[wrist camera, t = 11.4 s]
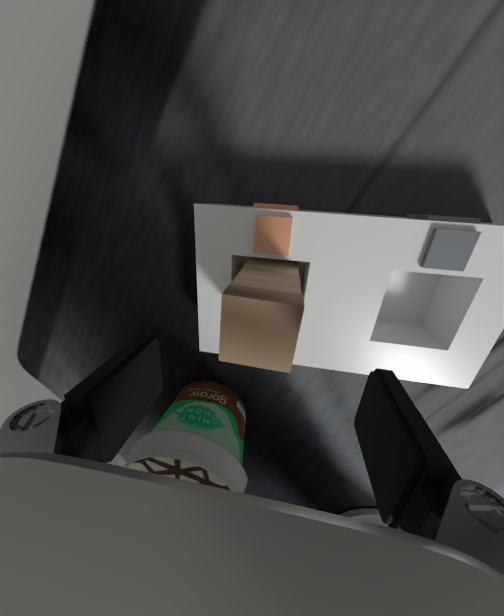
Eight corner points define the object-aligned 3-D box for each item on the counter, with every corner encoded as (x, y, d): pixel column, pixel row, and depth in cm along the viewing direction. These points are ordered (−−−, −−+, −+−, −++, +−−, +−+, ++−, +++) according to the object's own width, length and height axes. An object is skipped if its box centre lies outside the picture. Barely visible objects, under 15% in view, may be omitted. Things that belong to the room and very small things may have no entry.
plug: (290, 303, 22) (290, 373, 13) (247, 296, 22) (218, 360, 13) (298, 260, 20) (304, 306, 11) (251, 254, 21) (221, 294, 12)
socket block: (433, 352, 23) (471, 392, 18) (215, 324, 25) (198, 353, 20) (495, 218, 18) (572, 225, 13) (215, 199, 20) (191, 198, 15)
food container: (255, 375, 27) (238, 460, 18) (257, 414, 30) (244, 505, 21) (158, 370, 29) (99, 445, 20) (168, 407, 32) (120, 488, 23)
